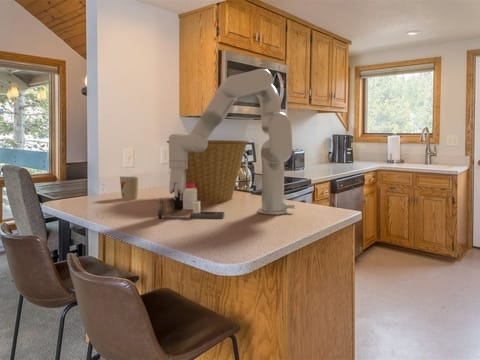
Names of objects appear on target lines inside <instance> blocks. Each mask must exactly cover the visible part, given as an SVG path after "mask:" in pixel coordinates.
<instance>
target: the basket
mask: <svg viewBox="0 0 480 360" xmlns="http://www.w3.org/2000/svg"><path fill="white" fill-rule="evenodd" d="M207 141H208V146H207V148H206V149H205V150H204V151H203V152H200V153H196V152H189V151H188V169H185V170H186V183H193V184H195V188H196V189H197V201H200V204H202V203H203V204H205V203H207V204H208V203H209V204H211V203H213V204H214V203H223V202H229V201H232V200H233V195H234V192H235V187H236V184H237V181H238V176H239V173H240V169H241V165H242V162H243V159H244V154H245V150H246V148H247V144H248V143H250V142H249V141H248V140H233V139H232V140H227V139H223V140H221V139H220V140H215V139H214V140H212V139H210V140H209V139H207ZM166 142H167V144H169V140H166Z"/></svg>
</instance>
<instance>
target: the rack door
mask: <svg viewBox="0 0 480 360" xmlns="http://www.w3.org/2000/svg"><path fill="white" fill-rule="evenodd" d="M174 200H175V199H174V198H169V199H163V200H162V199H161V211H162V216H163V217H165V216H168V215H173V214H177V213H181V212H182V210H175V204H174Z"/></svg>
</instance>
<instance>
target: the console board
mask: <svg viewBox="0 0 480 360" xmlns="http://www.w3.org/2000/svg"><path fill="white" fill-rule="evenodd" d="M224 217H225V211H203V210H202V211H201V210H200V213H193V211H192V212H191V214H190V219H219V220H220V219H221V220H222V219H224Z"/></svg>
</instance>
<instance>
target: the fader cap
mask: <svg viewBox="0 0 480 360" xmlns="http://www.w3.org/2000/svg"><path fill="white" fill-rule="evenodd" d="M200 211H201V203H200V201H194V202H193V209H192V212H193V213H200Z"/></svg>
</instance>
